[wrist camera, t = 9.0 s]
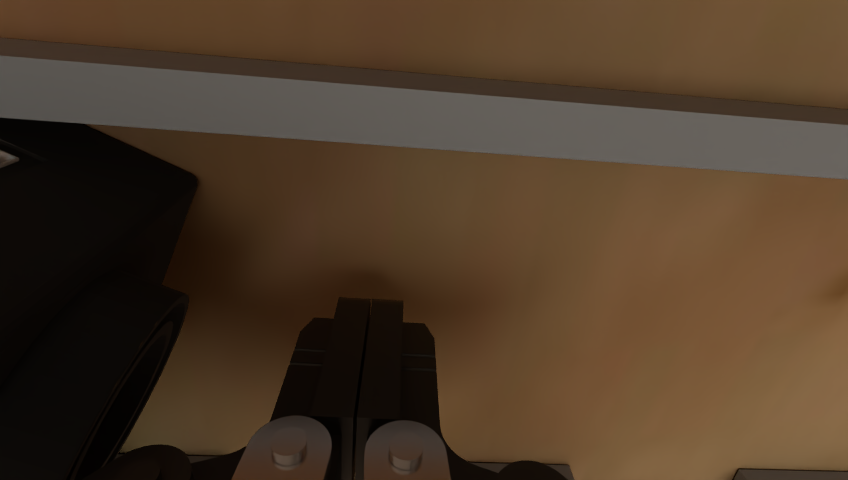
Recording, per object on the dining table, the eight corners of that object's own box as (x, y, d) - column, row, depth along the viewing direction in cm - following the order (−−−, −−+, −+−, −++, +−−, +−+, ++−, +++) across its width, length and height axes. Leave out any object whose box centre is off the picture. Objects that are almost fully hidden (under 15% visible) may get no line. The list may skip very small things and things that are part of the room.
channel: (-409, 3, 9) (-932, -2, 6) (1113, 132, 12) (1433, 186, 8) (-53, 601, 18) (-169, 751, 14) (781, 603, 20) (863, 731, 17)
